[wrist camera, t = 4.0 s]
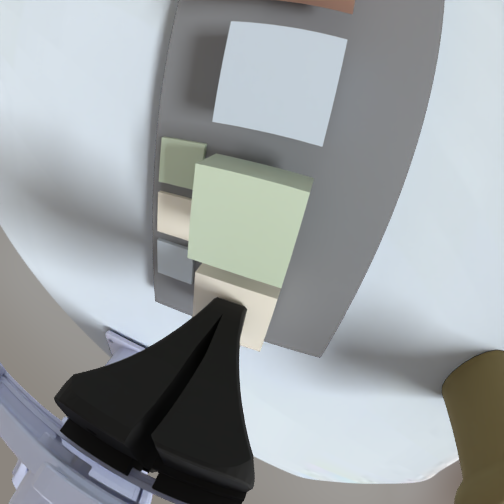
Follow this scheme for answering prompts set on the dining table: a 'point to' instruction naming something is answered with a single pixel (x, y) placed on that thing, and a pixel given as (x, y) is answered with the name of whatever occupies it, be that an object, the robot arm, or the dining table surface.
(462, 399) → the cork
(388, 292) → the dining table surface
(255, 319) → the key cream
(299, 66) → the key blue
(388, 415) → the dining table surface
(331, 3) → the key terracotta
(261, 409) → the dining table surface
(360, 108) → the keypad base
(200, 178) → the key sage
